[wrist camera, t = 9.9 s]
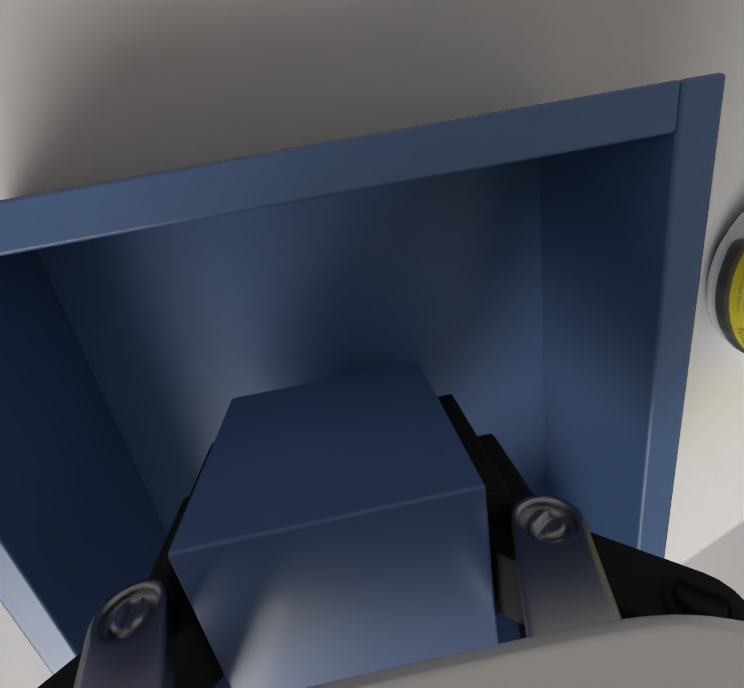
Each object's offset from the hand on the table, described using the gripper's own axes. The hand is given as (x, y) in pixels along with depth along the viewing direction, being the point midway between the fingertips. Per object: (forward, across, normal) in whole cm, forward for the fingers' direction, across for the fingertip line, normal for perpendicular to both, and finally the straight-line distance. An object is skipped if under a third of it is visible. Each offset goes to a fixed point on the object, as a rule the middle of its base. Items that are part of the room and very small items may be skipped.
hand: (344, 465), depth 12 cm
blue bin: (+3, 0, 0) cm, 3 cm away
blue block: (0, 0, 0) cm, 0 cm away
